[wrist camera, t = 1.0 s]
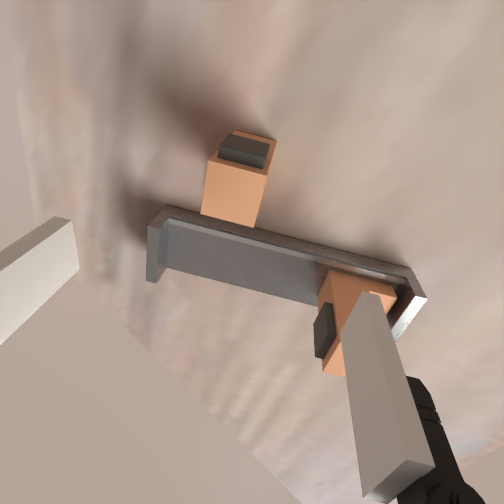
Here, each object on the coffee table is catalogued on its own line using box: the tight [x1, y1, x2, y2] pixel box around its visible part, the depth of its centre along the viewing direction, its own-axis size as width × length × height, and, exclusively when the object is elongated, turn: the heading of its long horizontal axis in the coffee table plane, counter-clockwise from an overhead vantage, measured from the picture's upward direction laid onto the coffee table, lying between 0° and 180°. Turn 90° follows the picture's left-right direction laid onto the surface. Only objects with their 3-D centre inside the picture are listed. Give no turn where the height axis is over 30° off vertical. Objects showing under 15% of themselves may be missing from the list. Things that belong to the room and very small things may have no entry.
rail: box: [146, 205, 427, 342], centre depth 33 cm, size 7×28×5 cm, turn 77°
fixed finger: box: [313, 270, 397, 377], centre depth 30 cm, size 4×8×10 cm, turn 77°
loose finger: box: [200, 130, 277, 228], centre depth 26 cm, size 4×8×10 cm, turn 168°
